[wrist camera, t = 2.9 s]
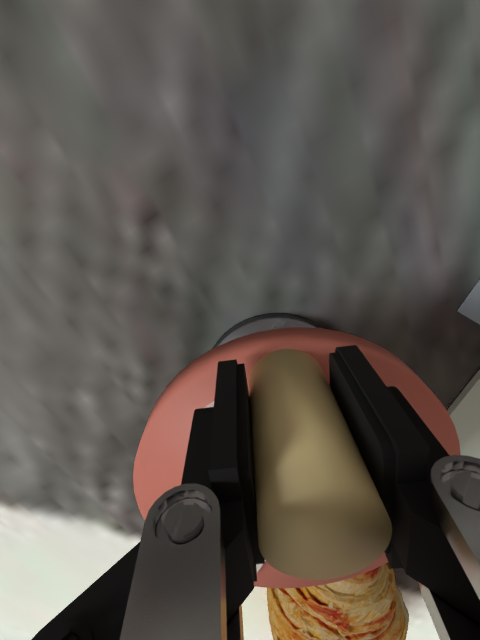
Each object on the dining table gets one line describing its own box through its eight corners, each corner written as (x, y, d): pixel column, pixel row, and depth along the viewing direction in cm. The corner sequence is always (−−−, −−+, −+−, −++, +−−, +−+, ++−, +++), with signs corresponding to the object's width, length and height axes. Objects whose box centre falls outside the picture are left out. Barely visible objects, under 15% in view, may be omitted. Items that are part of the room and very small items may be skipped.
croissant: (291, 437, 26) (245, 523, 20) (439, 485, 22) (444, 616, 15) (282, 604, 34) (247, 705, 27) (389, 664, 30) (379, 801, 23)
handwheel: (203, 275, 11) (163, 397, 5) (501, 392, 13) (739, 584, 7) (111, 515, 15) (29, 738, 9) (344, 576, 17) (404, 793, 11)
